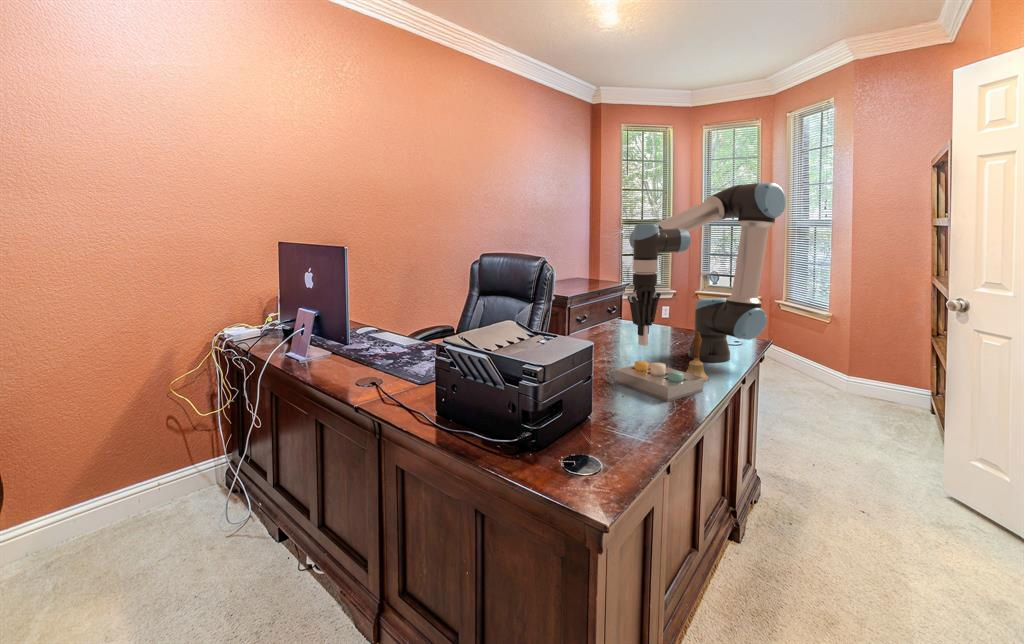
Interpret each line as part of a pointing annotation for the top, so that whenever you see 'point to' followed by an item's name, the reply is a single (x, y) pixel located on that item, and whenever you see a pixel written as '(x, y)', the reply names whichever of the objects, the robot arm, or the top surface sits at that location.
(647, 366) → the amber button
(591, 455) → the top surface
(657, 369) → the ivory button
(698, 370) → the hand bell
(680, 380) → the teal button
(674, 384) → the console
